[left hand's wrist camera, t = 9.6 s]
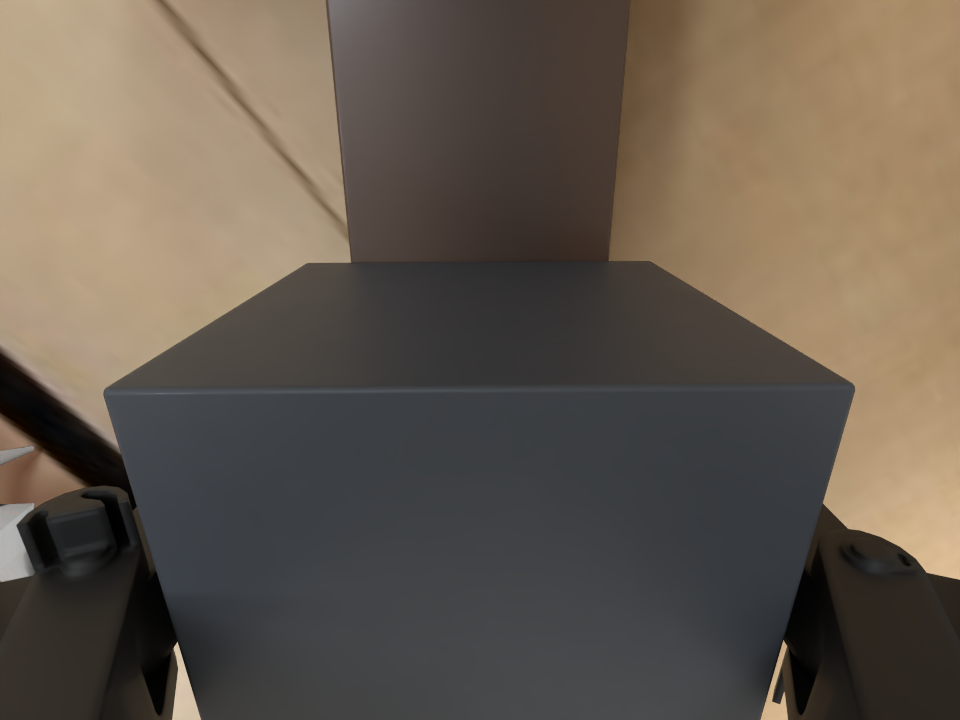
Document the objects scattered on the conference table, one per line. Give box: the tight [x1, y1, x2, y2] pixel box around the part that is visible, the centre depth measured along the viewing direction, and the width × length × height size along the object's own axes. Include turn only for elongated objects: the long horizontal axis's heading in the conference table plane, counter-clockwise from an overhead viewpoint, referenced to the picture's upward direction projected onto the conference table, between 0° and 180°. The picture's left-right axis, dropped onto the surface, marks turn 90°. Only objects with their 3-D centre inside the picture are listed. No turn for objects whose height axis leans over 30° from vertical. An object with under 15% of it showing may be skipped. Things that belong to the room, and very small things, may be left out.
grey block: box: [104, 261, 855, 720], centre depth 10 cm, size 8×8×7 cm
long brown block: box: [326, 0, 631, 263], centre depth 13 cm, size 6×28×6 cm, turn 0°
